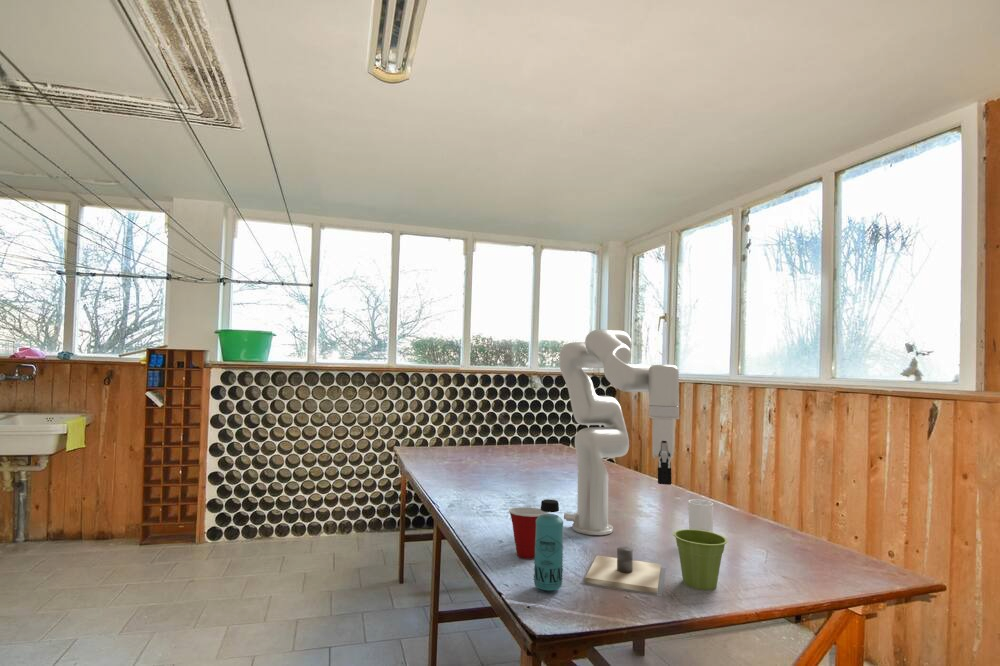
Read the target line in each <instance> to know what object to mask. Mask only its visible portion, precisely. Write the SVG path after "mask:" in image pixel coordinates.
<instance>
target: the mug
mask: <svg viewBox="0 0 1000 666" xmlns="http://www.w3.org/2000/svg"><path fill="white" fill-rule="evenodd" d="M687 506H688V507H687V508H688V529H694V530H703V531H708V532H713V533H714V503H713V502H712V501H710V500H705V499H688V505H687Z"/></svg>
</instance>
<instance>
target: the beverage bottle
mask: <svg viewBox="0 0 1000 666" xmlns="http://www.w3.org/2000/svg"><path fill="white" fill-rule="evenodd" d="M559 505H560V504H559V501H558V500H556V499H550V498H548V499H543V500H541V504H540V509H541V511H544V512H549V513H548V514H542V515H540V516H539V517H538V518H537V519H536V536H535V549H534V550H535V555H534V556H535V557H534V560H533V561H534V562H533V564H534V565H533V567H534V568H533V570H534V571H533V582H534V586H535V588H537V589H540V590H542V591H556V590H560V589H561V587H562V585H563V579H564V575H563V571H564V563H563V562H564V559H563V558H564V546H563V544H564V541H563V540H564V519H562V518H561V516H559V515H558V514H555V513H557V512H559V511H560V507H559Z"/></svg>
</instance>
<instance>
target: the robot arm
mask: <svg viewBox="0 0 1000 666" xmlns="http://www.w3.org/2000/svg"><path fill="white" fill-rule="evenodd" d="M584 339H585V341H584V342H583V341H578V342H577V341H574V342H569V343H566V344H564V345H563V346H562V348H561V349H560V351H559V358H558V361H559V362H558V363H559V369H560V373H561V375H562V378H563V379H564V381H565V384H566V386H567V391H568V395H569V399H570V400H569V401H570V406H571V410H572V415H573V418H574V420H575V422H576V423H577V424H579V425H582V426H591V427H584V428H582V429H580V430H578V431H577V432H576V434H575V437H574V446H575V447H574V448H575V453H576V460H577V461H576V462H577V464H576V465H577V494H576V495H577V500H576V502H577V503H576V504H577V507H576V509H577V510H576V512H574V513H571V512H570V513H568V512H564V514H563V520H565V521H567V522H573V523H572V525H571V526H572V530H573V531H575V532H576V533H578V534H583V535H589V536H605V535H610V534H611V533H613V531H614V526H613V525H612V524H610V523H609V472H608V471H609V470H608V469H607V467H606V465H605V464H604V462H603V460H602V459H605V458H620V457H624V456H626V455H627V454H628V451H630V450H629V448H630V439H629V434H628V430H627V426H626V422H625V418H624V414H623V409H622V407H621V405H620V403H619V401H618V400H617V399H616V398H615V397H613V396H610V395H598V394H597V393H596V390H595V387H594V383H593V381H592V379H591V377H589V375H588V374H587V373H586V372H585V371H584V370H583V369H588V368H589V369H603V373H604V377H605V379H606V380H607V381H608V382H609V383H610V384H611V385H612V386H613V387H615V389H618V390H620V391H622V392H626V393H648V419H652V457H653V459H656V457H658V461H657V483H658V485H666V486H667V485H668V486H670V485H672V462H671V460H672V459H673V457H674V449H675V420H680V386H679V385H680V379H679V377H680V375H679V368H678V367H677V365H673V364H646V363H645V364H641V363H638V364H637V363H630V361H631V357H632V353H631V352H632V351H631V350H632V339H631V337H630V336H629V334H628V333H627V332H626V331H624V330H617V329H603V328H602V329H600V328H599V329H594V330H592V331H590V332H589V333H588V334H587V335H586V336H585V338H584ZM593 426H595V427H593ZM602 426H603V427H602Z"/></svg>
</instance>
